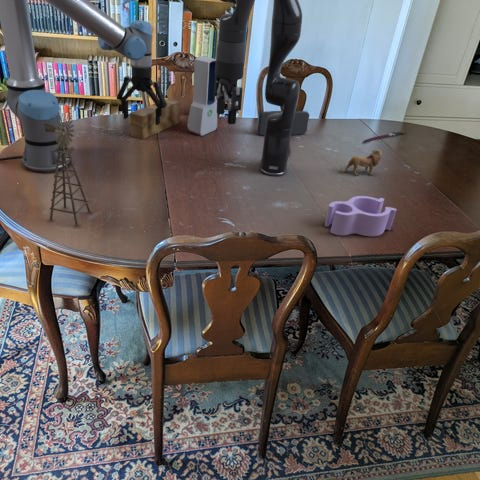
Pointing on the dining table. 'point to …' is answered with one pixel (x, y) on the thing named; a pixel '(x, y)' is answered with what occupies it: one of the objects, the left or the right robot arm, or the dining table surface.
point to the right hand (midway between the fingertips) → (225, 118)
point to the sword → (382, 136)
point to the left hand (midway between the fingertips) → (141, 121)
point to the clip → (359, 216)
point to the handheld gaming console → (297, 127)
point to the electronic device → (203, 97)
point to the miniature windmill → (60, 149)
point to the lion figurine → (365, 162)
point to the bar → (154, 119)
